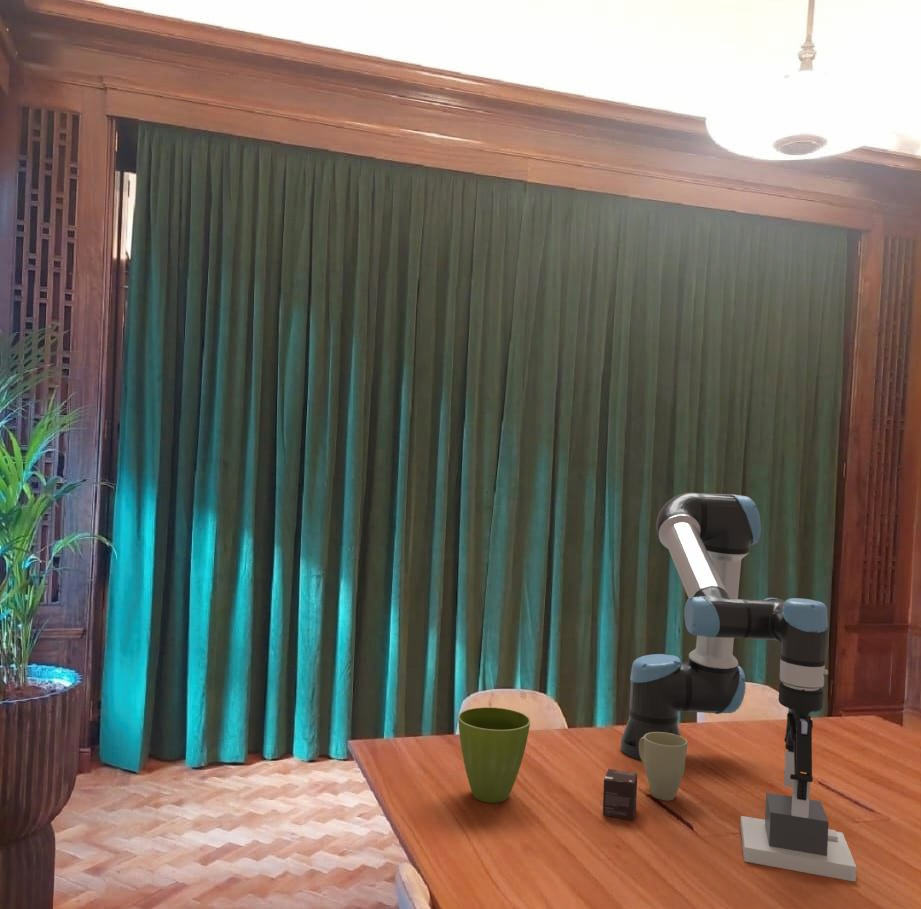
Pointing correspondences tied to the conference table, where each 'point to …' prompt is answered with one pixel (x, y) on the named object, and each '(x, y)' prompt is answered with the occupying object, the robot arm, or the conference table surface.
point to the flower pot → (492, 750)
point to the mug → (663, 762)
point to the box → (620, 794)
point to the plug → (796, 826)
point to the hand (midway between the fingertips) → (795, 800)
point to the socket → (797, 853)
